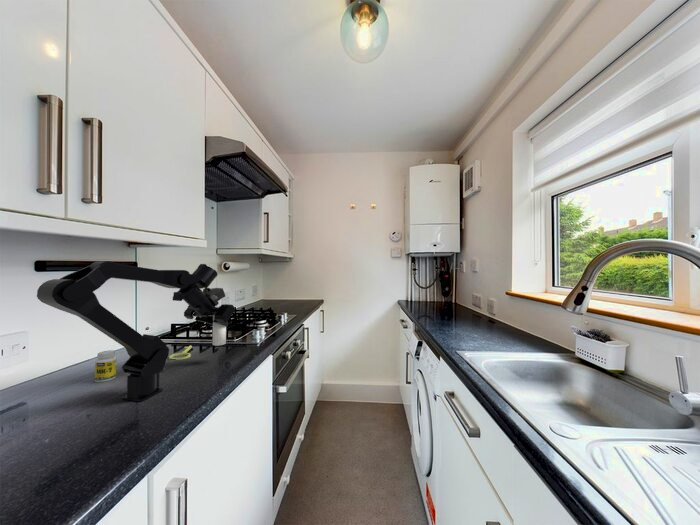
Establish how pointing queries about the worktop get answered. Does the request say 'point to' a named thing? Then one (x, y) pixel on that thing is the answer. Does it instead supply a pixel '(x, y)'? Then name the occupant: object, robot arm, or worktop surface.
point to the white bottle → (219, 334)
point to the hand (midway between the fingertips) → (222, 324)
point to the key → (182, 354)
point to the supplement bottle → (105, 366)
